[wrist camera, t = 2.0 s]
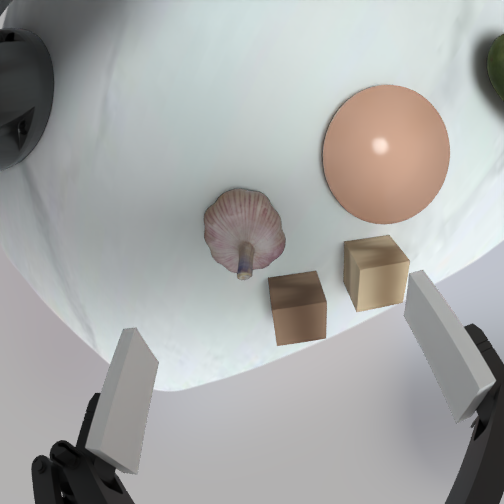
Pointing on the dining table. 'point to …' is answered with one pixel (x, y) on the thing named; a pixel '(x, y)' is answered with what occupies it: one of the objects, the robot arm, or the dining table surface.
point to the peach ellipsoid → (386, 154)
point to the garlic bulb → (243, 231)
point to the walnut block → (298, 308)
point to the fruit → (497, 65)
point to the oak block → (375, 272)
